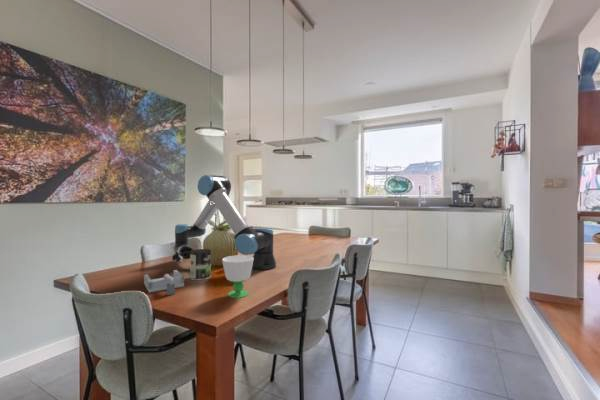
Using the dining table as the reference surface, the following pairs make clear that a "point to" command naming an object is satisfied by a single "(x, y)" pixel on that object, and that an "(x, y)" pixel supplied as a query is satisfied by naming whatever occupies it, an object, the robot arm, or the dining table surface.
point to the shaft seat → (164, 283)
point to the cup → (237, 273)
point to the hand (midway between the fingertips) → (195, 258)
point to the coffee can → (200, 264)
